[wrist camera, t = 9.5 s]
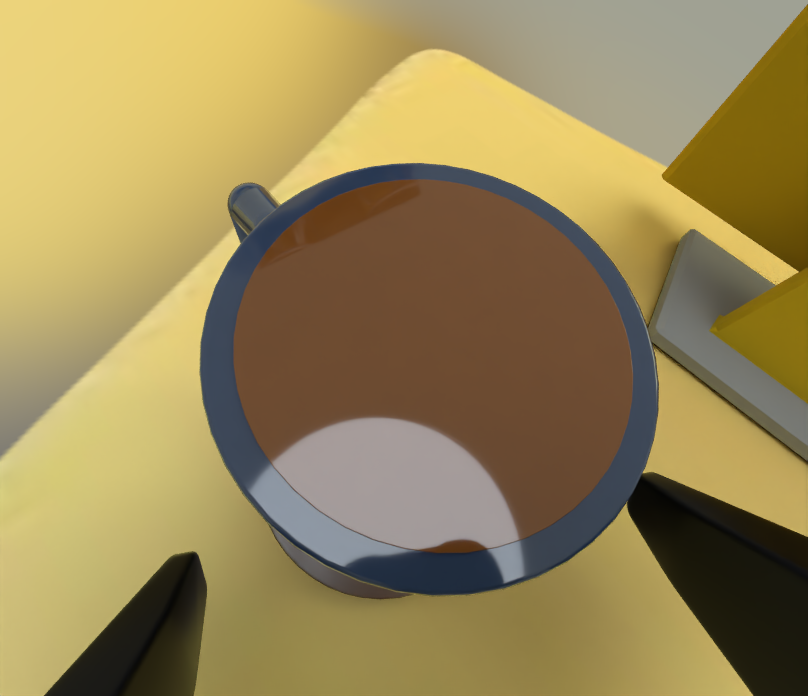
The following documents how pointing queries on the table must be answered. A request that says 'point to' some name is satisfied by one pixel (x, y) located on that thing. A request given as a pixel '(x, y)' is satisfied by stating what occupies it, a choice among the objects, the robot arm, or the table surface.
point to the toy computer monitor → (763, 223)
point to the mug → (427, 377)
